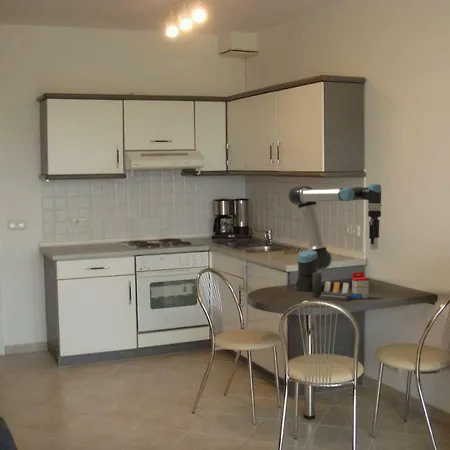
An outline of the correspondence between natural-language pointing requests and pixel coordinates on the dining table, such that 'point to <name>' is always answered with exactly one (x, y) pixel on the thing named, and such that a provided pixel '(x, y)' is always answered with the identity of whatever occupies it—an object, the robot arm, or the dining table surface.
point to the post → (316, 284)
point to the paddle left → (327, 287)
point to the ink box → (360, 286)
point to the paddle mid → (336, 288)
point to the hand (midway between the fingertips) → (374, 249)
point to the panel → (335, 296)
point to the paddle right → (345, 289)
